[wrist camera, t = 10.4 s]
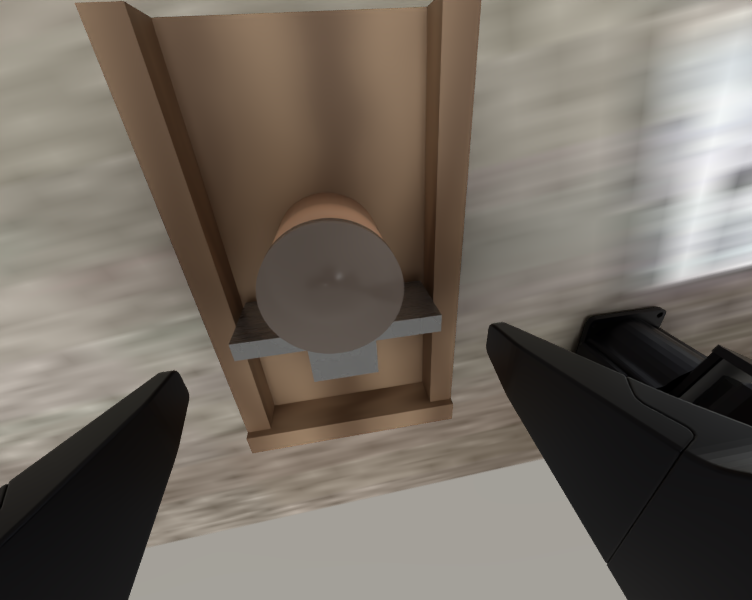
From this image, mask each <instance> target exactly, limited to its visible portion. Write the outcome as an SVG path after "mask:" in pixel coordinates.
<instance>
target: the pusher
mask: <svg viewBox="0 0 752 600" xmlns="http://www.w3.org/2000/svg"><path fill="white" fill-rule="evenodd" d="M441 321H442V315H441V313H440V311H439V310H438V308H437V307H436V305H435V303H434V302H433V300H432V299H431V297H430V295H429V294H428V292H427V290H426V289H425V287H424V286H423V284H422V282H421V281H412V282H404V296H403V301H402V305H401V308H400V311H399V313H398V315H397V317H396V318H395V320H394V321H393V323H392V324H391V326H390V327H389V328H388V329H387V330H386V331H385V332H384V333H383V334H382V335H381V336H380V337H378V338H377V339H375V340H374V341H373V342H371V343H369V344H367V345H365V346H363V347H361V348H358V349H355V350H352V351H348V352H343V353H335V354H323V353H315V352H310V351H308V355H309V359H310V364H311V369H312V373H313V378H314V382H318V381H324V380H330V379H337V378H343V377H350V376H356V375H363V374H369V373H376V372H379V370H378V357H377V345H376V341H377V340H384V339H391V338H397V337H404V336H411V335H418V334H425V333H432V332H439V331H441ZM229 347H230V350H231V353H232V356H233V358H234V361H239V360H246V359H253V358H259V357H266V356H273V355H280V354H287V353H294V352H301V351H306V350H303V349H300V348H297V347H295V346H293V345H291V344H289V343H288V342H286V341H284V340H283V339H282V338H280V337H279V336H278V335H276V333H275V332H274V331H273V330H272V329H271V328H270V327H269V326H268V324H267V323H266V322H265V320H264V318H263V317H262V315H261V312H260V310H259V307H258V304H257V301H255V302H247V303H245V305H244V308H243V310H242V313H241V315H240V318H239V320H238V322H237V325H236V327H235V330H234V332H233V335H232V337H231V340H230V342H229Z"/></svg>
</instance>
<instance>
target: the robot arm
mask: <svg viewBox="0 0 752 600" xmlns="http://www.w3.org/2000/svg"><path fill="white" fill-rule="evenodd" d="M665 314H666V311H665V310H664V309H662V308H660V307H655V308H648V309H642V310H635V311H628V312H621V313H615V314H608V315H601V316H594V317H591V318H589V319H588V320H587V322H586V324H585V327H584V330H583V333H582V336H581V339H580V342H579V345H578V349H577V352H576V354H575V353H573V352H571V351H568V350H566V349H564V348H561V347H559V346H557V345H555V344H552V343H550V342H548V341H546V340H543V339H541V338H539V337H536V336H534V335H532V334H530V333H527V332H525V331H523V330H521V329H518V328H516V327H514V326H512V325H509V324H507V323H505V322H500V323H493V324H491V325H490V326H489V329H488V336H487V343H486V349H487V353H488V355H489V358H490V360H491V362H492V364H493V366H494V369H495V371H496V373H497V375H498V378H499V380H500V382H501V384H502V386H503V389H504V391H505V393H506V395H507V397H508V398H509V400H510V402H511V404H512V405H513V407H514V409H515V411H516V412H517V414H518V416H519V417H520V419H521V421H522V422H523V424H524V426H525V427H526V429H527V431H528V432H529V434H530V436H531V437H532V439H533V441H534V443H535V444H536V446H537V448H538V449H539V451H540V453H541V454H542V456H543V458H544V459H545V461H546V463H547V464H548V466H549V468H550V470H551V471H552V473H553V475H554V476H555V478H556V480H557V481H558V483H559V485H560V486H561V488H562V490H563V491H564V493H565V495H566V497H567V498H568V500H569V502H570V503H571V505H572V507H573V508H574V510H575V512H576V513H577V515H578V517H579V518H580V520H581V522H582V524H583V525H584V527H585V529H586V530H587V532H588V534H589V535H590V537H591V539H592V540H593V542H594V544H595V545H596V547H597V549H598V550H599V552H600V554H601V555H602V557H603V559H604V561H605V562H606V563H607V566H608V568H609V569H610V571H611V573H612V575H613V576H614V578H615V579H616V581H617V583H618V585H619V586H620V588H621V590H622V591H623V593H624V595H625V596H626V598H627V600H752V383H751V382H752V359H749V358H747V357H745V356H743V355H741V354H738V353H736V352H734V351H732V350H729V349H727V348H725V347H723V346H721V345H717V346H716V347H715V348H714V349H713V350H712V353H711V354H710V355H709V356H708V357H706V356H705V355H703V354H701V353H700V352H698V351H697V350H695V349H693V348H692V347H690V346H688V345H687V344H685V343H684V342H682V341H680V340H679V339H677V338H675V337H674V336H672V335H671V334H669V333H667V332H666V331H664V330H662V329H661V328H659V327H660V325H661V323H662V321H663V319H664V316H665ZM188 403H189V392H188V390H187V388H186V386H185V384H184V382H183V380H182V378H181V376H180V374H179V373H178V372H177V371H174V370H173V371H166V372H161V373H158V374H157V375H155V376H154V377H153V378H151V379H150V380H149V381H147V382H146V383H144V384H143V385H142V386H140V387H139V388H138V389H136V390H135V391H133V392H132V393H131V394H129V395H128V396H126V397H125V398H124V399H122V400H121V401H120V402H118V403H117V404H115V405H114V406H113V407H111V408H110V409H109V410H107V411H106V412H104V413H103V414H102V415H100V416H99V417H97V418H96V419H95V420H93V421H92V422H91V423H89V424H88V425H86V426H85V427H84V428H82V429H81V430H80V431H78V432H77V433H75V434H74V435H73V436H71V437H70V438H68V439H67V440H66V441H64V442H63V443H62V444H60V445H59V446H57V447H56V448H55V449H53V450H52V451H51V452H49V453H48V454H46V455H45V456H44V457H42V458H41V459H39V460H38V461H37V462H35V463H34V464H33V465H31V466H30V467H28V468H27V469H26V470H24V471H23V472H22V473H20V474H19V475H17V476H16V477H15V478H13V479H12V480H11V481H10V482H9V484H5V485H3V486H2V487H1V488H0V600H128V598H129V595H130V592H131V589H132V586H133V583H134V580H135V577H136V574H137V571H138V568H139V566H140V563H141V559H142V557H143V554H144V551H145V548H146V545H147V542H148V539H149V536H150V533H151V530H152V527H153V524H154V521H155V518H156V515H157V512H158V509H159V506H160V503H161V500H162V497H163V494H164V491H165V488H166V485H167V482H168V479H169V477H170V474H171V471H172V468H173V465H174V462H175V458H176V455H177V452H178V448H179V444H180V439H181V435H182V430H183V426H184V421H185V416H186V412H187V407H188Z"/></svg>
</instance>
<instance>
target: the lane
mask: <svg viewBox="0 0 752 600" xmlns="http://www.w3.org/2000/svg"><path fill="white" fill-rule="evenodd" d="M75 5H76V7H77V10H78V12H79V15H80V17H81V20H82V22H83V25H84V27H85V30H86V32H87V34H88V37H89V39H90V42H91V44H92V47H93V49H94V52H95V54H96V57H97V59H98V62H99V64H100V67H101V69H102V72H103V74H104V77H105V79H106V82H107V84H108V87H109V89H110V91H111V94H112V96H113V99H114V101H115V104H116V106H117V109H118V111H119V114H120V116H121V119H122V121H123V124H124V126H125V129H126V131H127V134H128V136H129V139H130V141H131V144H132V146H133V149H134V151H135V153H136V156H137V158H138V161H139V163H140V166H141V168H142V171H143V173H144V176H145V178H146V181H147V183H148V186H149V188H150V191H151V193H152V196H153V198H154V201H155V203H156V206H157V208H158V211H159V213H160V215H161V218H162V220H163V223H164V225H165V228H166V230H167V233H168V235H169V238H170V240H171V243H172V245H173V248H174V250H175V253H176V255H177V258H178V260H179V263H180V265H181V268H182V270H183V273H184V275H185V277H186V280H187V282H188V285H189V287H190V290H191V292H192V295H193V297H194V300H195V302H196V305H197V307H198V310H199V312H200V315H201V317H202V320H203V322H204V325H205V327H206V330H207V332H208V334H209V337H210V339H211V342H212V344H213V347H214V349H215V352H216V354H217V357H218V359H219V362H220V364H221V367H222V369H223V372H224V374H225V377H226V379H227V382H228V384H229V387H230V389H231V392H232V394H233V396H234V399H235V401H236V404H237V406H238V409H239V411H240V414H241V416H242V419H243V421H244V424H245V426H246V429H247V431H248V435H247V441H248V444H249V446H250V449H251V451H252V453H257V452H263V451H268V450H274V449H280V448H286V447H291V446H297V445H303V444H308V443H314V442H320V441H326V440H331V439H337V438H343V437H349V436H354V435H360V434H366V433H372V432H377V431H383V430H389V429H395V428H400V427H406V426H412V425H418V424H423V423H429V422H435V421H440V420H446V419H452V410H453V403H452V401H451V386H452V373H453V360H454V347H455V334H456V321H457V308H458V295H459V282H460V269H461V256H462V243H463V230H464V217H465V205H466V192H467V179H468V166H469V153H470V140H471V127H472V114H473V101H474V88H475V75H476V62H477V49H478V36H479V23H480V11H481V0H434V1H433V2H432V3H431V4H430V5H429V6H428V7H413V8H387V9H361V10H335V11H309V12H283V13H258V14H232V15H206V16H180V17H154V18H151V17H149V16H147V15H146V14H144V13H142V12H141V11H139V10H137V9H136V8H134V7H132V6H131V5H129V4H127V3H126V2H124V1H116V2H86V3H75ZM317 193H337V194H341V195H344V196H347V197H349V198H351V199H353V200H355V201H356V202H358V203H359V204H361V205H362V206H363V207H364V208H365V209H366V210H367V211H368V213H369V214H370V215H371V217H372V219H373V220H374V222H375V224H376V226H377V228H378V230H379V232H380V234H381V236H382V238H383V240H384V241H385V242H386V244H387V245H388V246H389V247H390V249H391V251H392V252H393V254H394V256H395V258H396V260H397V262H398V264H399V266H400V269H401V272H402V276H403V281H404V282H412V281H421V282H422V284H423V286H424V287H425V289H426V290H427V292H428V294H429V295H430V297H431V299H432V300H433V302H434V303H435V305H436V307H437V308H438V310H439V311H440V313H441V315H442V321H441V331H439V332H432V333H425V334H418V335H411V336H404V337H397V338H391V339H384V340H377V341H376V345H377V357H378V370H379V372H376V373H369V374H363V375H356V376H350V377H343V378H337V379H330V380H324V381H318V382H314V378H313V373H312V369H311V364H310V359H309V355H308V351H301V352H294V353H287V354H280V355H273V356H266V357H259V358H253V359H246V360H239V361H234V358H233V356H232V353H231V350H230V347H229V342H230V340H231V337H232V335H233V332H234V330H235V327H236V325H237V322H238V320H239V318H240V315H241V313H242V310H243V308H244V305H245V303H247V302H255V301H257V299H256V280H257V276H258V272H259V269H260V267H261V264H262V262H263V259H264V257H265V255H266V253H267V251H268V250H269V248H270V247H271V245H272V243H273V241H274V238H275V235H276V233H277V230H278V228H279V225H280V223H281V220H282V218H283V217H284V215H285V213H286V212H287V211H288V210H289V209H290V207H291V206H293V205H294V204H295V203H296V202H298V201H299V200H301V199H303V198H305V197H307V196H310V195H313V194H317Z"/></svg>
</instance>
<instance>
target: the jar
mask: <svg viewBox="0 0 752 600" xmlns="http://www.w3.org/2000/svg"><path fill="white" fill-rule="evenodd" d="M403 296H404V281H403V276H402V272H401V269H400V266H399V264H398V262H397V260H396V258H395V256H394V254H393V252H392V251H391V249H390V247H389V246H388V245H387V244H386V242H385V241H384V240H383V238H382V236H381V234H380V232H379V230H378V228H377V226H376V224H375V222H374V220H373V219H372V217H371V215H370V214H369V213H368V211H367V210H366V209H365V208H364V207H363V206H362V205H361V204H359V203H358V202H356V201H355V200H353V199H351V198H349V197H347V196H344V195H341V194H337V193H317V194H313V195H310V196H307V197H305V198H303V199H301V200H299V201H298V202H296V203H295V204H294V205H293V206H291V207H290V209H289V210H288V211H287V212H286V213H285V215H284V217H283V218H282V220H281V223H280V225H279V228H278V230H277V233H276V235H275V238H274V241H273V243H272V245H271V247H270V248H269V250H268V251H267V253H266V255H265V257H264V259H263V262H262V264H261V267H260V269H259V272H258V276H257V280H256V299H257V304H258V307H259V310H260V312H261V315H262V317H263V318H264V320H265V322H266V323H267V324H268V326H269V327H270V328H271V329H272V330H273V331H274V332H275V333H276V335H278V336H279V337H280V338H282V339H283V340H284V341H286V342H288V343H289V344H291V345H293V346H295V347H297V348H300V349H303V350H306V351H310V352H315V353H323V354H335V353H343V352H348V351H352V350H355V349H358V348H361V347H363V346H365V345H367V344H369V343H371V342H373V341H374V340H375V339H377V338H378V337H380V336H381V335H382V334H383V333H384V332H385V331H386V330H387V329H388V328H389V327H390V326H391V324H392V323H393V321H394V320H395V318H396V317H397V315H398V313H399V311H400V308H401V305H402V301H403Z"/></svg>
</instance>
